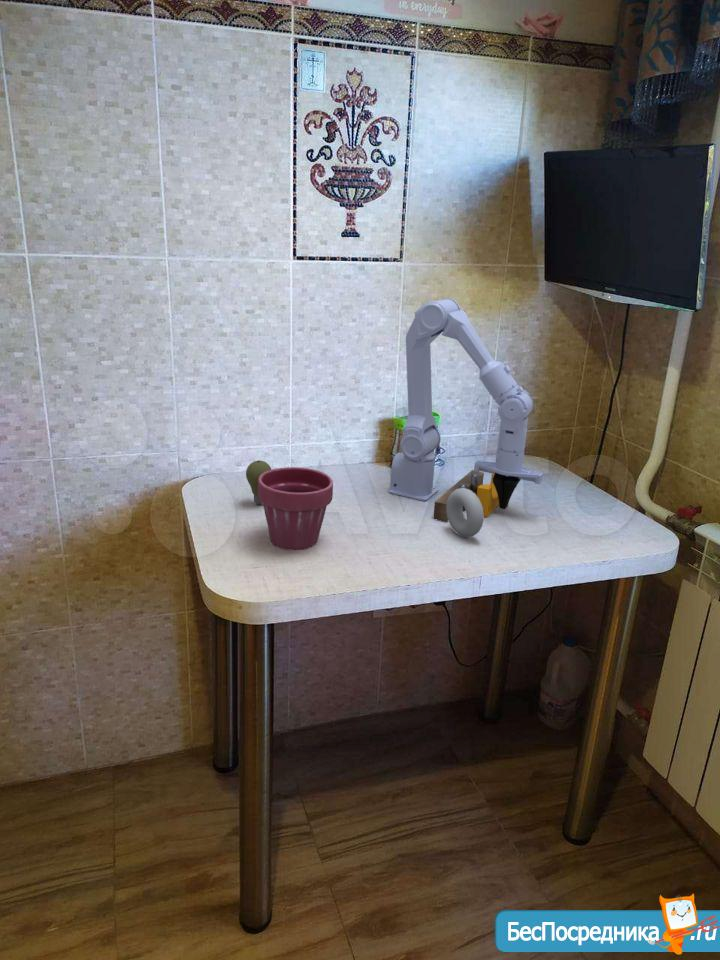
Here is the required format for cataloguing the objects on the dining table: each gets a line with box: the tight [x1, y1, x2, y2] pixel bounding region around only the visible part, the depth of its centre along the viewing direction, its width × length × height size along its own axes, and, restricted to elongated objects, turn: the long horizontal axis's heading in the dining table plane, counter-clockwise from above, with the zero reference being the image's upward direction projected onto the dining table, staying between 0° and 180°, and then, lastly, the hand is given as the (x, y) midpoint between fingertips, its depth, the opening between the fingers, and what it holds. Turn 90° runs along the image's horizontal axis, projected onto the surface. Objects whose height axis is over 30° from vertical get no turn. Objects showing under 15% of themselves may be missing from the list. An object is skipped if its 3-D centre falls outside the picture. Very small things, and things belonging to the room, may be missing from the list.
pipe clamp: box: [477, 473, 499, 518], centre depth 159 cm, size 12×4×6 cm, turn 153°
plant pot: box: [258, 466, 334, 551], centre depth 137 cm, size 14×14×13 cm
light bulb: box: [245, 459, 273, 506], centre depth 153 cm, size 6×6×10 cm
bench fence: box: [433, 469, 485, 523], centre depth 160 cm, size 4×24×6 cm, turn 153°
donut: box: [446, 488, 485, 538], centre depth 143 cm, size 10×3×10 cm, turn 30°
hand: (503, 507), depth 157 cm, fingers closed
